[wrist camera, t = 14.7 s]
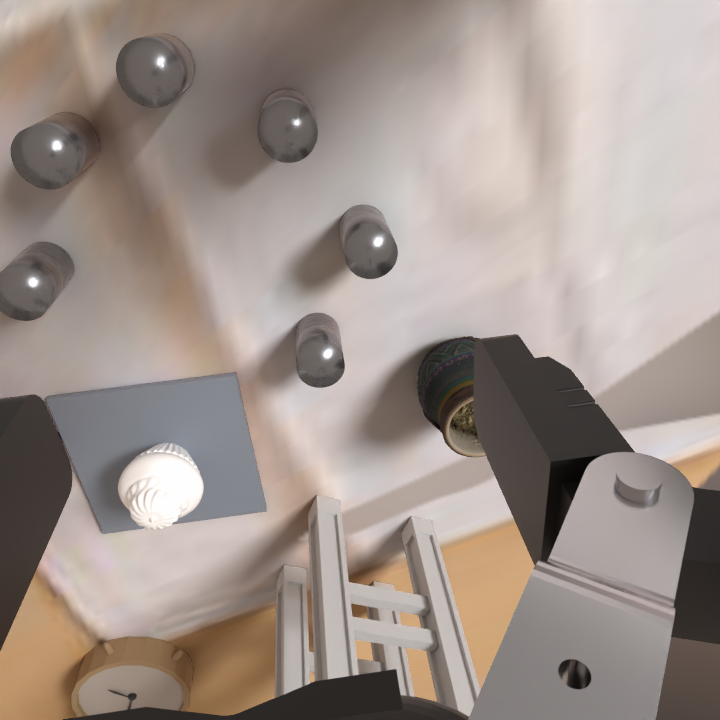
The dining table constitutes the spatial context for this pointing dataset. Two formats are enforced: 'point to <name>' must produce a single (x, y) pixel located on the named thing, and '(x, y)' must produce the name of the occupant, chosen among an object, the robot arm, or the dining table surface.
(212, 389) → the rubber mat
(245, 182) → the dining table surface
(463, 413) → the mate gourd
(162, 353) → the dining table surface
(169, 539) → the dining table surface
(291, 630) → the stool
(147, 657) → the alarm clock
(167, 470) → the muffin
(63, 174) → the posts
